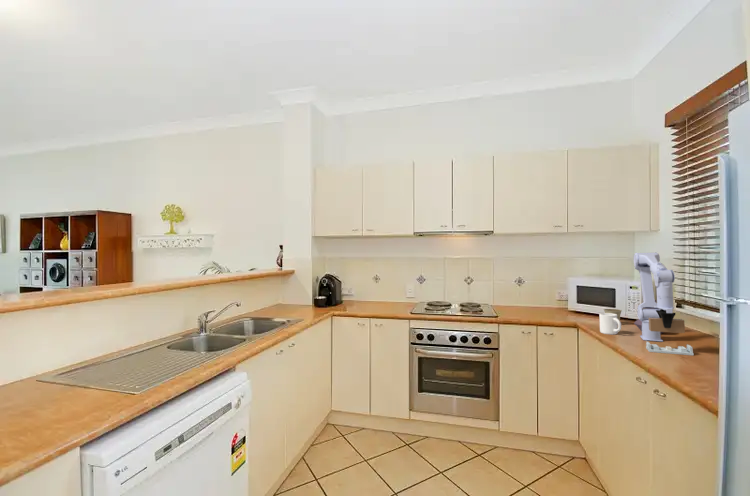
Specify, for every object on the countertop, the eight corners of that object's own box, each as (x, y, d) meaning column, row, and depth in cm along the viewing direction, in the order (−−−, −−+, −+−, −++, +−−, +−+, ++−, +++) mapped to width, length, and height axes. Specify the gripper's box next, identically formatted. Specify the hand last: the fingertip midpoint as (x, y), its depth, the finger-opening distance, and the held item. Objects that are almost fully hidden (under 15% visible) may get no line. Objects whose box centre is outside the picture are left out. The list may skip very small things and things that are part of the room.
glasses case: (649, 329, 165) (648, 317, 165) (682, 331, 159) (681, 319, 159) (650, 331, 161) (650, 318, 161) (684, 333, 156) (684, 320, 156)
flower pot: (601, 322, 224) (600, 308, 225) (618, 322, 223) (617, 308, 223) (608, 325, 215) (607, 311, 215) (625, 325, 213) (624, 311, 213)
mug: (627, 335, 189) (627, 316, 189) (614, 336, 188) (613, 317, 188) (609, 331, 201) (608, 312, 201) (596, 331, 199) (595, 313, 200)
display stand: (646, 347, 165) (645, 341, 165) (688, 351, 158) (688, 344, 158) (649, 351, 159) (649, 344, 159) (693, 355, 152) (693, 347, 152)
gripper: (650, 294, 169) (651, 323, 168) (657, 298, 156) (658, 329, 156) (669, 295, 166) (670, 324, 165) (678, 298, 153) (679, 330, 152)
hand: (666, 326), depth 160 cm, fingers closed on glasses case, 4 cm apart
